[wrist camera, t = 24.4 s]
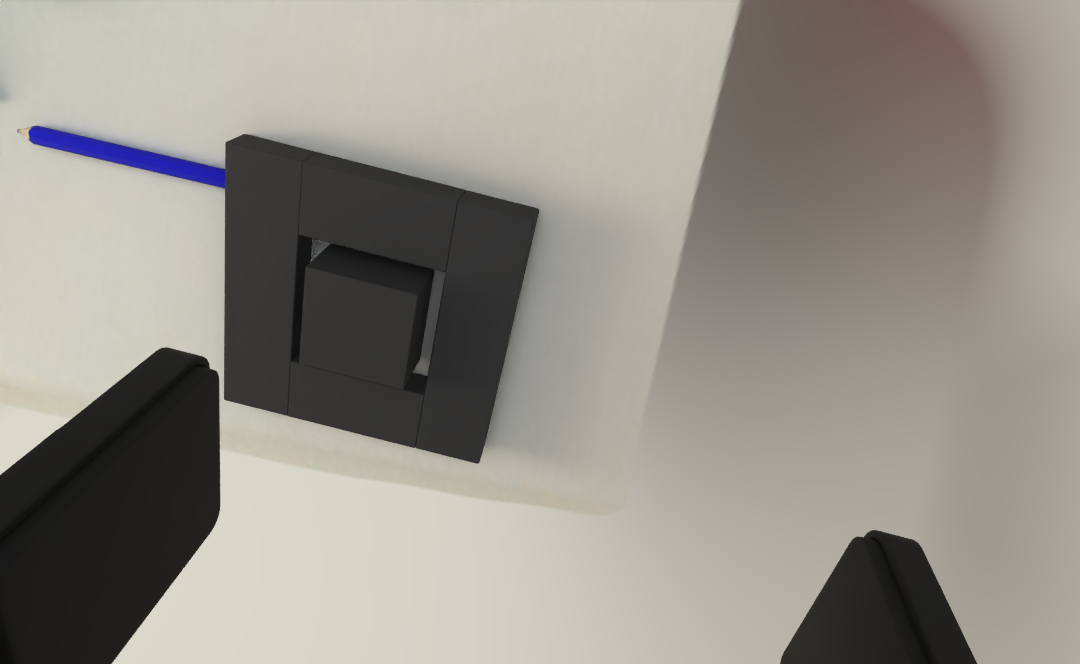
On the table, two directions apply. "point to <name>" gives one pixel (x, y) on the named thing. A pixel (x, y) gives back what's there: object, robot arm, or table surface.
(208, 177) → the pencil
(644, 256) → the table surface
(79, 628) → the robot arm
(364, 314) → the black block
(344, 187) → the dark grey square frame
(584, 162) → the table surface
